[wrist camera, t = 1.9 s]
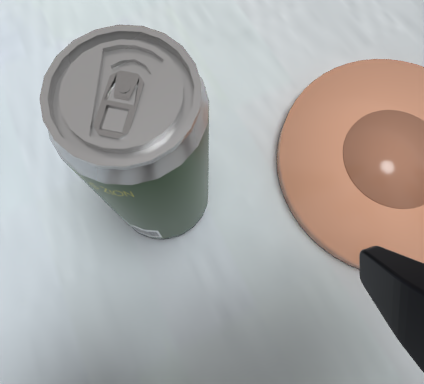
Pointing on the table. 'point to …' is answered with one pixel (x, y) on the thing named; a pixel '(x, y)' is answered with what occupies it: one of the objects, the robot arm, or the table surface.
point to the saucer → (358, 159)
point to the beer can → (133, 125)
